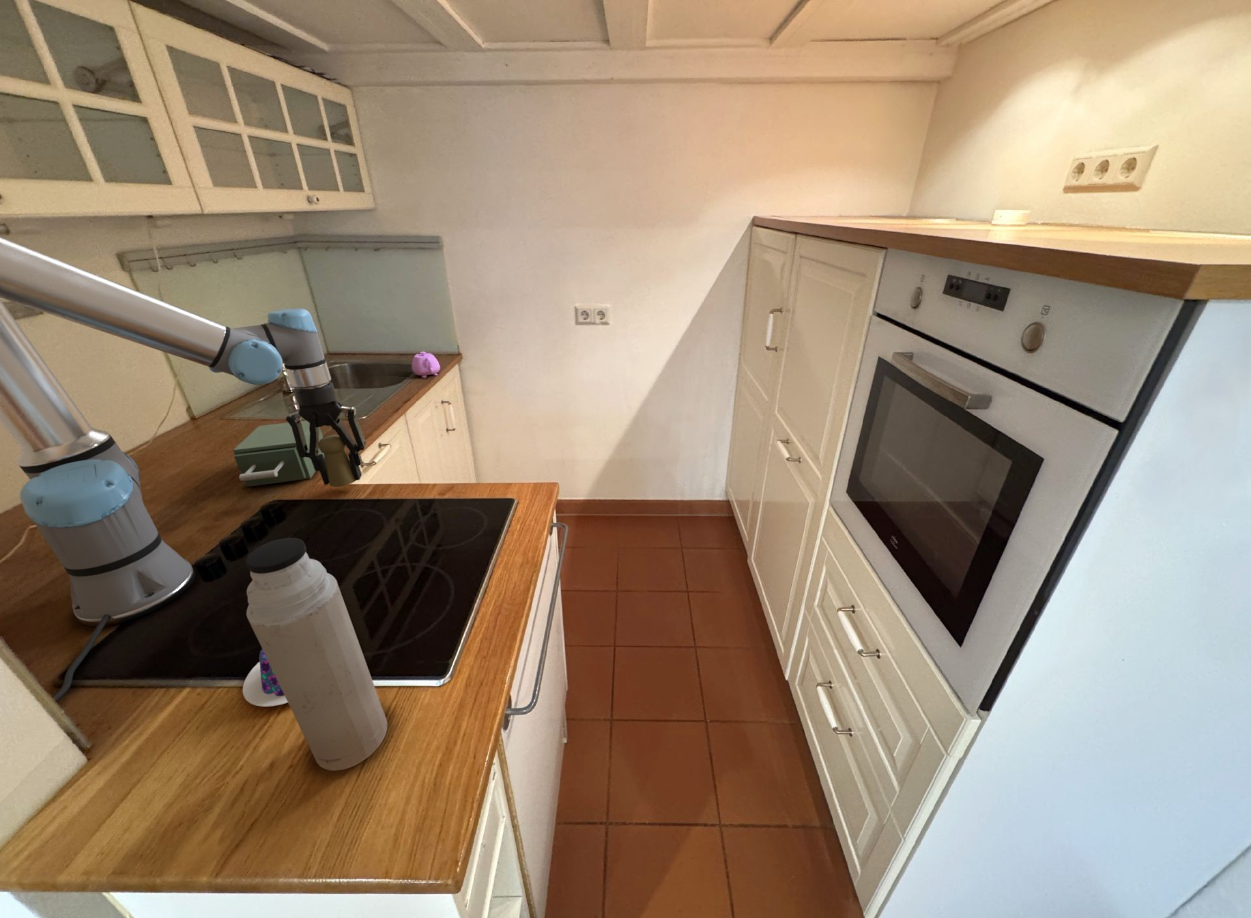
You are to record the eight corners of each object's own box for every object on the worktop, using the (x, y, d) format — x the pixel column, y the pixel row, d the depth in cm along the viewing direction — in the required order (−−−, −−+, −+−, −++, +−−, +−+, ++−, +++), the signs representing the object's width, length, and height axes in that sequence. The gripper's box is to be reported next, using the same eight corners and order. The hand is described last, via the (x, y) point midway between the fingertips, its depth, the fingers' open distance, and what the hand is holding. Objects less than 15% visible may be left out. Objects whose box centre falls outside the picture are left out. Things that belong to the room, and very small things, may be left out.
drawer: (295, 491, 115) (284, 461, 112) (233, 500, 113) (220, 469, 109) (321, 454, 134) (312, 426, 131) (269, 460, 131) (258, 432, 128)
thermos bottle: (298, 760, 58) (202, 569, 46) (350, 702, 65) (278, 522, 53) (353, 779, 56) (268, 583, 44) (401, 717, 63) (339, 533, 51)
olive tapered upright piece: (323, 483, 115) (308, 440, 111) (347, 472, 120) (333, 430, 115) (340, 489, 113) (325, 444, 108) (363, 477, 118) (350, 434, 113)
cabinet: (310, 478, 123) (298, 442, 119) (247, 486, 120) (232, 450, 116) (328, 452, 137) (317, 419, 133) (272, 459, 134) (259, 425, 130)
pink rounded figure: (420, 380, 196) (415, 357, 192) (407, 373, 207) (402, 350, 203) (446, 375, 202) (441, 352, 198) (432, 368, 213) (427, 346, 209)
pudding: (305, 630, 77) (294, 604, 75) (362, 652, 73) (352, 625, 70) (224, 693, 67) (208, 665, 65) (284, 723, 63) (270, 694, 60)
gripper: (364, 374, 111) (389, 466, 122) (269, 384, 107) (303, 478, 118) (356, 384, 105) (384, 481, 115) (255, 395, 101) (293, 493, 111)
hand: (343, 479), depth 116 cm, fingers closed on olive tapered upright piece, 6 cm apart
